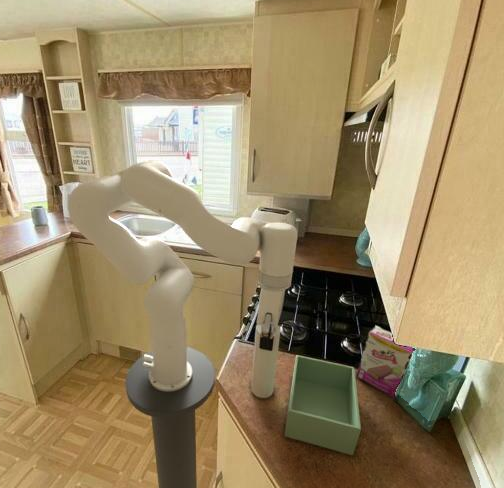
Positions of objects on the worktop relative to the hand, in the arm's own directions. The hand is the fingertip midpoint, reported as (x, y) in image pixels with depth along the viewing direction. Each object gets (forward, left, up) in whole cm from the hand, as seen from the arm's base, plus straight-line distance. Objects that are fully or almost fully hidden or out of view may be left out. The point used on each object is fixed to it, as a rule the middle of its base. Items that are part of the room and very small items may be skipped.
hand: (268, 337), depth 79 cm
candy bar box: (+31, +12, -18) cm, 38 cm away
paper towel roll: (0, 0, -18) cm, 18 cm away
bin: (+15, -3, -18) cm, 23 cm away
